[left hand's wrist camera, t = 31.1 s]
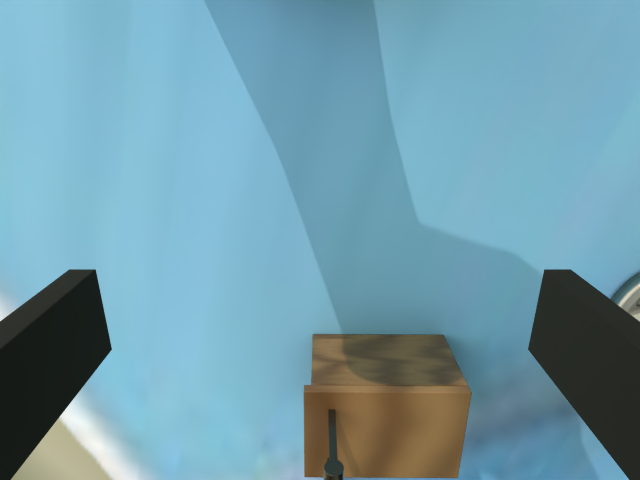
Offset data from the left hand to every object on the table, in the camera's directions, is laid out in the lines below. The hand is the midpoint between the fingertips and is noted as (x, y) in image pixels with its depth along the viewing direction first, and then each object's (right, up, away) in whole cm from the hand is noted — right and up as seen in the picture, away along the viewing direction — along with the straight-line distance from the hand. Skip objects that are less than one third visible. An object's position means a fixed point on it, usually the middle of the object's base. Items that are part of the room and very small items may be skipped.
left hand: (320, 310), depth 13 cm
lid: (+6, -17, +31) cm, 36 cm away
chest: (+7, -14, +39) cm, 42 cm away
